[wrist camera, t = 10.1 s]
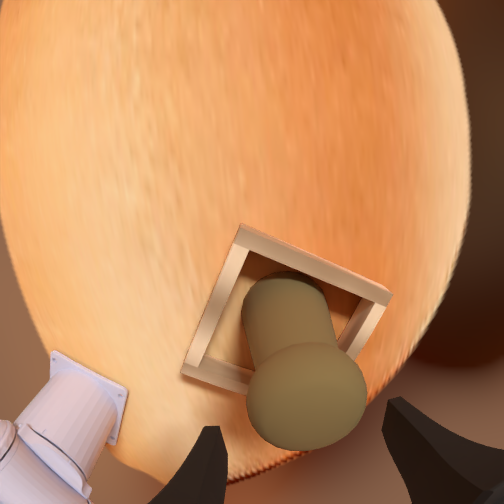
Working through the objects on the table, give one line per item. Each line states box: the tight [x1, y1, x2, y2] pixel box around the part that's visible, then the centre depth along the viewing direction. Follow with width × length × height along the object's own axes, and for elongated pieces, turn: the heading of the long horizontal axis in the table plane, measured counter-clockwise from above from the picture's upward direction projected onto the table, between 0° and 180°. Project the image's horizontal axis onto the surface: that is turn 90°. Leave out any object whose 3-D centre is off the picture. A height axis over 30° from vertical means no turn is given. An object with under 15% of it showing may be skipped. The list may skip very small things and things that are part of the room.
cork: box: [241, 271, 367, 451], centre depth 15 cm, size 6×6×11 cm
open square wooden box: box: [180, 223, 393, 395], centre depth 20 cm, size 11×11×2 cm
